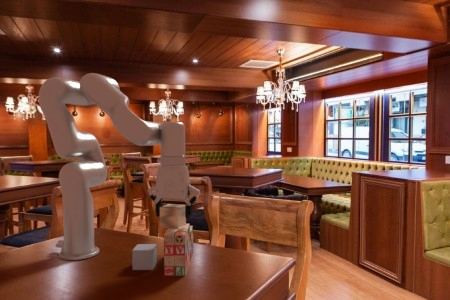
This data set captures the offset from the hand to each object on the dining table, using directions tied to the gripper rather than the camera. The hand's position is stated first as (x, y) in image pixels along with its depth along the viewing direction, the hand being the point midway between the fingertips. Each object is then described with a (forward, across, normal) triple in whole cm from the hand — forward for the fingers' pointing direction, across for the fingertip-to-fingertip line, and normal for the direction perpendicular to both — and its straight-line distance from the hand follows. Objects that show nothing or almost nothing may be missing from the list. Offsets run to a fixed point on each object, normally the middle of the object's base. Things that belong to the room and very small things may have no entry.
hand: (173, 216), depth 107 cm
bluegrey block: (+15, -8, -4) cm, 17 cm away
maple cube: (+3, 0, 0) cm, 3 cm away
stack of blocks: (+15, +1, +1) cm, 15 cm away
